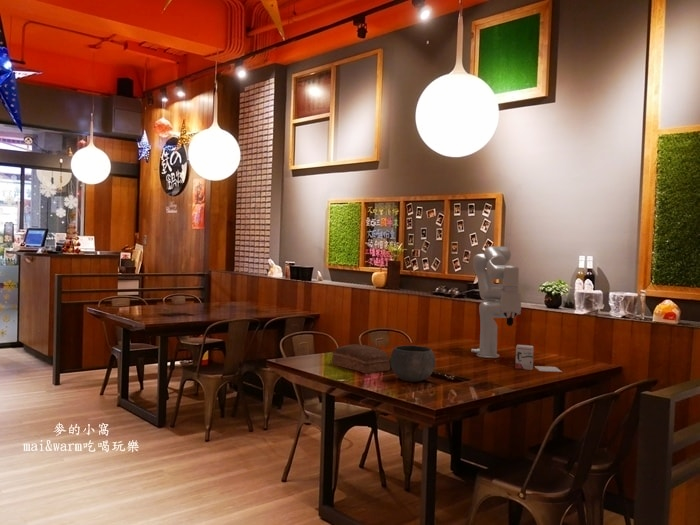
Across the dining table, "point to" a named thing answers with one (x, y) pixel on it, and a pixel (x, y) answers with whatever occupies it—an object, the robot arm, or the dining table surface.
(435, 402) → the dining table surface
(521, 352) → the ink box
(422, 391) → the dining table surface
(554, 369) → the mat
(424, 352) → the bowl
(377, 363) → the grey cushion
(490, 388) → the dining table surface
